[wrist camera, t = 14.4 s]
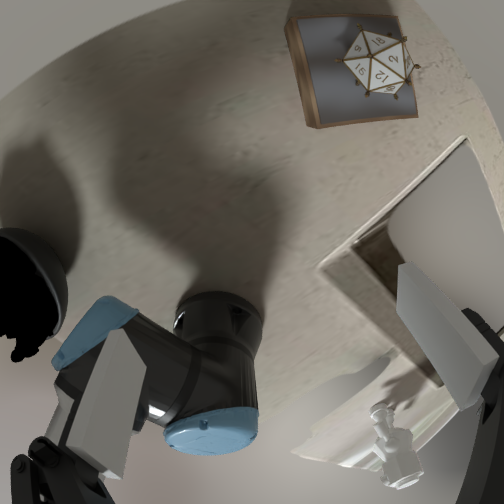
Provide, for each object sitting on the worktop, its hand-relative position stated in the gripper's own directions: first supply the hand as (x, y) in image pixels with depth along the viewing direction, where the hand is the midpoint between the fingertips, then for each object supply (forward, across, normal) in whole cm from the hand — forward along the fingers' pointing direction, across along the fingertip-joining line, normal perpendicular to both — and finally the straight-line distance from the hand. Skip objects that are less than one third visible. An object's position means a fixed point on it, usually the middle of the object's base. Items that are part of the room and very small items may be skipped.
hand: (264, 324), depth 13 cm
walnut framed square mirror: (+29, -17, -12) cm, 36 cm away
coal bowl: (+31, +38, +3) cm, 49 cm away
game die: (+23, -17, -12) cm, 31 cm away
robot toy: (+30, -23, +68) cm, 78 cm away
